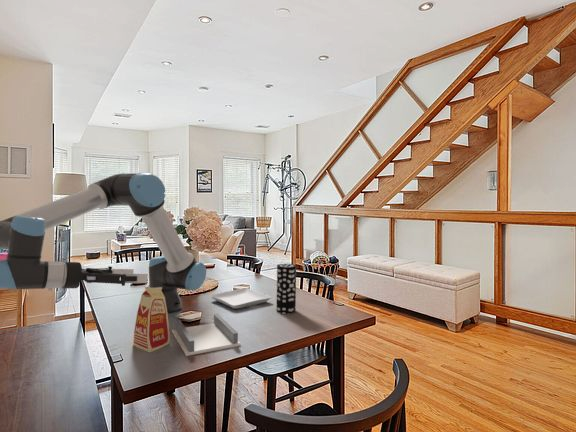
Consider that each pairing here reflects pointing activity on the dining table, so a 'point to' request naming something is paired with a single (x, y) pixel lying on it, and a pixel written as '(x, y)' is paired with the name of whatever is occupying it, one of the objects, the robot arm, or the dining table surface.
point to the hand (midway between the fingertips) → (139, 275)
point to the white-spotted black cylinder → (286, 288)
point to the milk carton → (152, 321)
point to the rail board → (205, 336)
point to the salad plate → (241, 298)
